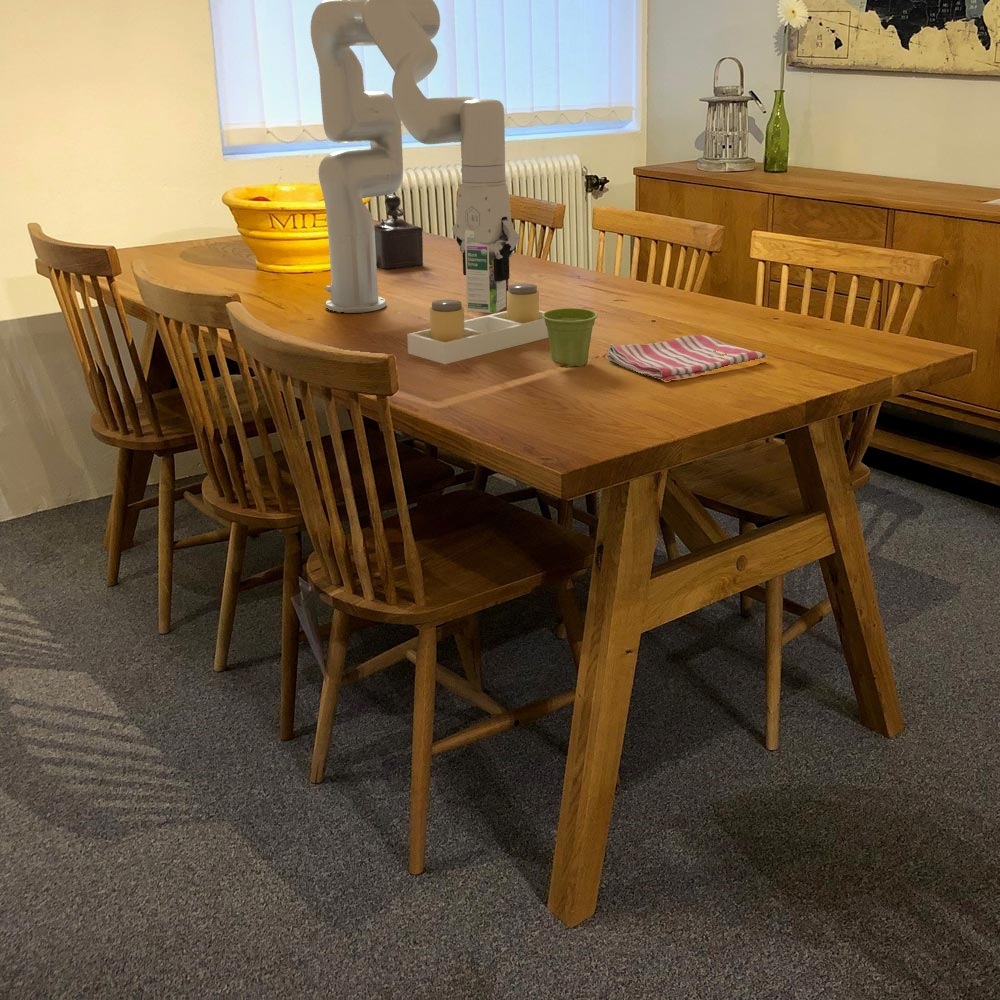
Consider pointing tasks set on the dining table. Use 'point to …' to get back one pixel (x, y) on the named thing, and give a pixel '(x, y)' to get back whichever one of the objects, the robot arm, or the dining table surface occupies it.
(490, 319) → the caddy
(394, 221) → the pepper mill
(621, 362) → the dish towel
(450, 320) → the honey jar
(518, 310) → the honey jar
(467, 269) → the syrup box
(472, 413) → the dining table surface
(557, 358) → the plant pot
